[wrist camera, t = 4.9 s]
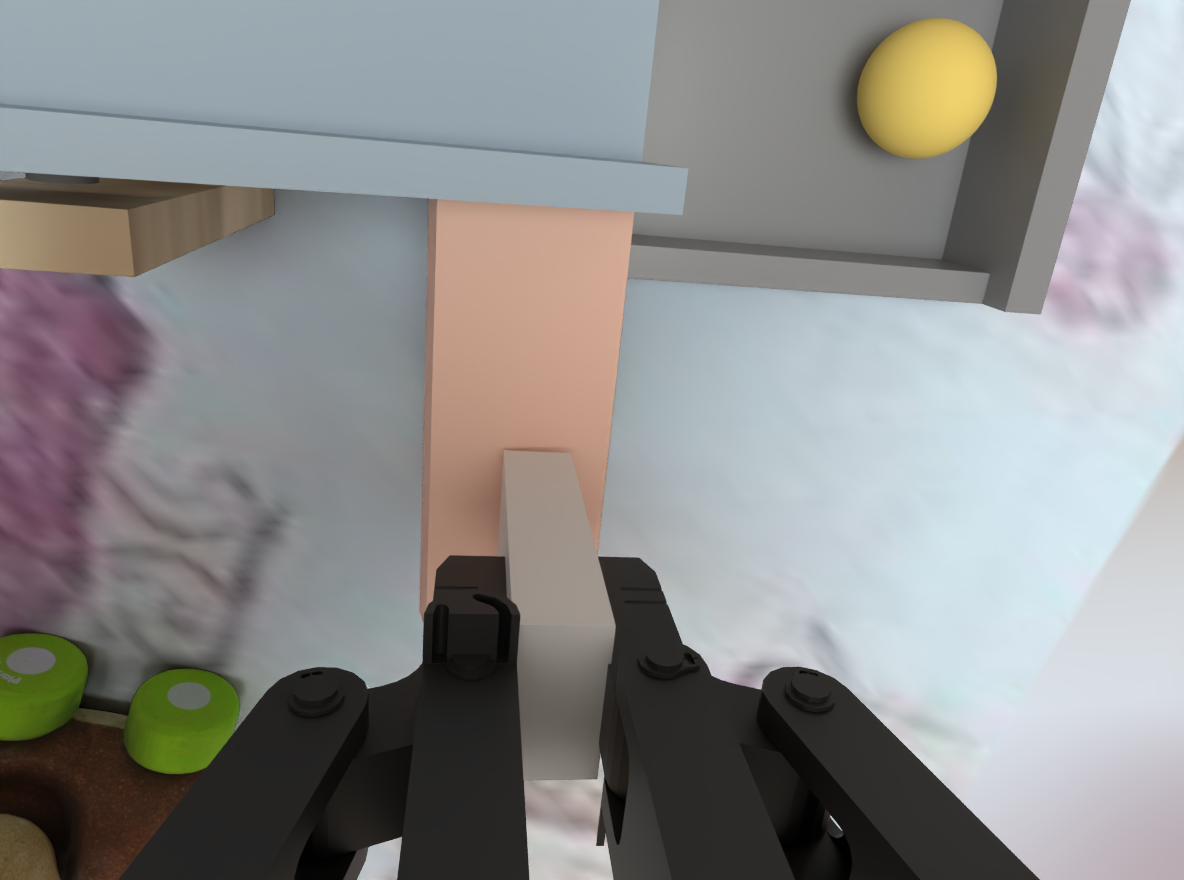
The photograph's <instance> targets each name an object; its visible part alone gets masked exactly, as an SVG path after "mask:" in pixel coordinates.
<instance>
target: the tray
mask: <svg viewBox="0 0 1184 880" xmlns="http://www.w3.org/2000/svg"><path fill="white" fill-rule="evenodd" d="M1130 1H1131V0H659V9H658V18H657V27H656V36H655V46H654V55H653V64H652V73H651V82H650V92H649V101H648V110H647V119H646V128H645V138H644V147H643V156H642V161H643V162H649V163H656V164H663V165H669V166H676V167H683V168H689V169H688V177H687V184H686V192H685V200H684V208H683V215H674V214H658V213H643V212H634V220H633V229H632V239H631V248H630V257H629V266H628V276H627V278H635V279H649V280H662V281H676V282H690V283H704V284H717V285H731V286H745V287H759V288H772V289H786V290H800V291H814V292H827V293H841V294H855V295H869V296H882V297H896V298H910V299H924V300H937V301H951V302H965V303H978V304H984V305H987V306H990V307H993V308H996V309H999V310H1001V311H1004V312H1015V313H1029V314H1041V311H1042V308H1043V304H1044V301H1045V297H1046V294H1047V290H1048V287H1049V283H1050V280H1051V276H1052V273H1053V269H1054V266H1055V262H1056V259H1057V255H1058V252H1059V249H1060V245H1061V242H1062V238H1063V235H1064V231H1065V228H1066V224H1067V221H1068V217H1069V214H1070V210H1071V207H1072V203H1073V200H1074V196H1075V193H1076V189H1077V186H1078V182H1079V179H1080V175H1081V172H1082V168H1083V165H1084V161H1085V158H1086V154H1087V151H1088V147H1089V144H1090V140H1091V137H1092V134H1093V130H1094V127H1095V123H1096V120H1097V116H1098V113H1099V109H1100V106H1101V102H1102V99H1103V95H1104V92H1105V88H1106V85H1107V81H1108V78H1109V74H1110V71H1111V67H1112V64H1113V60H1114V57H1115V53H1116V50H1117V46H1118V43H1119V39H1120V36H1121V32H1122V29H1123V26H1124V22H1125V19H1126V15H1127V12H1128V8H1129V5H1130ZM929 18H945V19H951V20H955V21H959V22H961V23H963V24H966V25H967V26H969V27H971V28H972V29H974V30H975V31H976V32H977V33H978V34H980V35H981V37H982V38H983V39H984V40H985V41H986V43H987V44H988V46H989V48H990V50H991V52H992V54H993V57H994V60H995V64H996V71H997V86H996V92H995V96H994V100H993V103H992V106H991V108H990V110H989V112H988V114H987V116H986V118H985V119H984V121H983V122H982V124H981V125H980V126H979V128H978V129H977V130H976V131H975V132H974V133H973V134H972V135H971V136H970V137H969V138H968V139H967V140H966V141H964V142H963V143H962V144H960V145H959V146H957V147H956V148H954V149H952V150H950V151H948V152H946V153H943V154H941V155H938V156H934V157H930V158H922V159H910V158H904V157H900V156H896V155H893V154H891V153H889V152H887V151H885V150H884V149H882V148H881V147H879V146H878V145H877V144H876V143H875V142H874V141H873V140H872V139H871V138H870V136H869V135H868V134H867V132H866V131H865V129H864V127H863V125H862V122H861V120H860V116H859V112H858V106H857V91H858V84H859V80H860V77H861V74H862V71H863V69H864V67H865V65H866V63H867V61H868V59H869V58H870V56H871V54H872V53H873V52H874V50H875V49H876V48H877V47H878V45H879V44H880V43H881V42H882V41H883V40H885V39H886V38H887V37H888V36H889V35H891V34H892V33H893V32H895V31H896V30H898V29H900V28H901V27H903V26H905V25H908V24H910V23H912V22H916V21H919V20H923V19H929Z"/></svg>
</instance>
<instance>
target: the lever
mask: <svg viewBox="0 0 1184 880" xmlns="http://www.w3.org/2000/svg"><path fill="white" fill-rule="evenodd" d="M658 9H659V0H0V171H10V172H25V174H26V179H27V180H32V181H39V182H49V183H65V184H94V183H99V178H98V177H102V178H118V179H133V180H149V181H164V182H180V183H195V184H211V185H226V186H241V187H257V188H272V189H288V190H303V191H319V192H334V193H350V194H365V195H380V196H396V197H411V198H427V199H429V224H428V267H427V311H426V354H425V397H424V440H423V483H422V526H421V569H420V614H421V617H422V620H423V623H424V612H425V610H426V608H427V606H428V604H429V603H430V602H432V601H433V594H434V586H435V577H436V569H437V568H438V567H439V566H440V565H441V564H442V563H443V562H444V561H445V560H446V559H447V558H448V556H449V555H463V556H497V551H498V535H499V518H500V501H501V485H502V468H503V451H504V450H512V451H536V452H559V453H571V455H572V459H573V463H574V467H575V471H576V475H577V478H578V482H579V486H580V490H581V494H582V498H583V502H584V505H585V509H586V513H587V517H588V521H589V525H590V529H591V532H592V536H593V540H594V544H595V548H596V552H597V554H598V545H599V536H600V526H601V517H602V508H603V498H604V489H605V480H606V471H607V461H608V452H609V443H610V433H611V424H612V415H613V406H614V396H615V387H616V378H617V369H618V359H619V350H620V341H621V331H622V322H623V313H624V304H625V294H626V285H627V276H628V266H629V257H630V248H631V239H632V229H633V220H634V212H643V213H658V214H674V215H683V208H684V200H685V192H686V184H687V177H688V169H689V168H683V167H676V166H669V165H663V164H656V163H649V162H643V161H642V156H643V147H644V138H645V128H646V119H647V110H648V101H649V92H650V82H651V73H652V64H653V55H654V46H655V36H656V27H657V18H658Z"/></svg>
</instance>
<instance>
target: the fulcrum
mask: <svg viewBox="0 0 1184 880" xmlns="http://www.w3.org/2000/svg"><path fill="white" fill-rule="evenodd" d="M98 178H99V183H94V184H65V183H49V182H39V181H32V180H27V179H26V178H19V179H11V180H2V181H0V268H6V269H21V270H36V271H51V272H66V273H81V274H96V275H111V276H126V277H136V276H138V275H140V274H142V273H145V272H147V271H149V270H151V269H154V268H156V267H158V266H160V265H162V264H165V263H167V262H169V261H171V260H174V259H176V258H178V257H180V256H183V255H185V254H187V253H189V252H192V251H194V250H196V249H198V248H201V247H203V246H205V245H207V244H210V243H212V242H214V241H216V240H219V239H221V238H223V237H225V236H228V235H230V234H232V233H234V232H237V231H239V230H241V229H243V228H246V227H248V226H250V225H252V224H255V223H257V222H259V221H261V220H264V219H266V218H268V217H270V216H273V215H275V207H274V189H272V188H257V187H241V186H226V185H211V184H195V183H180V182H164V181H149V180H133V179H118V178H102V177H98Z"/></svg>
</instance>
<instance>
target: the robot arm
mask: <svg viewBox="0 0 1184 880" xmlns="http://www.w3.org/2000/svg"><path fill="white" fill-rule="evenodd" d="M600 753H601V759H602V764H603V770H604V775H605V776H604V784H603V792H602V800H601V808H600V816H599V824H598V832H597V843H596V846H604V840H605V833H606V837H607V842H608V848H609V854H610V860H611V866H612V872H613V878H614V880H1040V879H1038V877H1036V876H1035V874H1033V872H1031V870H1029V869H1028V867H1026V866H1025V865H1024V864H1023V863H1022V862H1021V861H1020V860H1019V859H1018V858H1017V857H1016V856H1015V855H1014V854H1013V853H1012V852H1011V851H1010V850H1009V849H1008V848H1007V847H1006V846H1005V845H1004V844H1003V843H1002V842H1001V841H1000V840H999V839H998V838H997V837H996V836H995V835H994V834H993V833H992V832H991V831H990V830H989V829H988V828H987V827H986V826H985V825H984V824H983V823H982V822H981V821H980V820H979V819H978V818H977V817H976V816H975V815H974V814H973V813H972V812H971V811H970V810H969V809H968V808H967V807H966V806H965V805H964V804H963V803H962V802H961V801H960V800H959V799H958V798H957V797H956V796H955V795H954V794H953V793H952V792H951V791H950V790H949V789H948V788H947V787H946V786H945V785H944V784H943V783H942V782H941V781H940V780H939V779H938V778H937V777H936V776H935V775H934V774H933V773H932V772H931V771H930V770H929V769H928V768H927V767H926V766H925V765H924V764H923V763H922V762H921V761H920V760H919V759H918V758H917V757H916V756H915V755H914V754H913V753H912V752H911V751H910V750H909V749H908V748H907V747H906V746H905V745H904V744H903V743H902V742H901V741H900V740H899V739H898V738H897V737H896V736H895V735H894V734H893V733H892V732H891V731H890V730H889V729H888V728H887V727H886V726H885V725H884V724H883V723H882V722H881V721H880V720H879V719H878V718H877V717H876V716H875V715H874V714H873V713H872V712H871V711H870V710H869V709H868V708H867V707H866V706H865V705H864V704H863V703H862V702H861V701H860V700H859V699H858V698H857V697H856V696H855V695H854V694H853V693H852V692H851V691H850V690H849V689H848V688H847V687H845V686H844V685H843V684H841V683H840V682H839V681H837V680H836V679H835V678H833V677H831V676H828V675H826V674H824V673H821V672H819V671H817V670H813V669H807V668H802V667H783V668H780V669H777V670H774V671H771V672H770V673H769V674H768V675H767V676H766V677H765V679H764V680H763V684H762V689H761V690H760V689H755V688H750V687H746V686H741V685H737V684H733V683H729V682H726V681H722V680H720V679H717V678H715V677H713V676H711V673H710V671H709V669H708V666H707V664H706V663H705V661H704V660H703V659H702V657H701V656H700V654H698V653H697V652H695V651H694V650H692V649H691V648H689V647H688V646H686V645H683V644H682V641H681V638H680V636H679V633H678V630H677V628H676V625H675V623H674V620H673V617H672V615H671V612H670V609H669V607H668V605H666V599H665V596H664V594H663V591H661V586H660V583H659V580H658V578H657V575H656V572H655V571H654V570H652V569H651V568H650V567H649V566H648V565H647V564H646V563H644V562H643V561H642V560H641V559H640V558H629V557H598V555H597V552H596V548H595V544H594V540H593V536H592V532H591V529H590V525H589V521H588V517H587V513H586V509H585V505H584V502H583V498H582V494H581V490H580V486H579V482H578V478H577V475H576V471H575V467H574V463H573V459H572V455H571V453H559V452H536V451H512V450H504V451H503V468H502V485H501V501H500V518H499V535H498V551H497V556H463V555H449V556H448V558H447V559H446V560H445V561H444V562H443V563H442V564H441V565H440V566H439V567H438V568H437V569H436V577H435V586H434V594H433V601H432V602H430V603H429V604H428V606H427V608H426V610H425V612H424V632H423V663H422V664H421V665H420V667H419V668H418V669H417V670H416V671H414V672H413V673H412V674H410V675H409V676H407V677H405V678H403V679H401V680H399V681H397V682H394V683H391V684H387V685H384V686H380V687H375V688H371V689H367V687H366V685H365V682H364V681H363V680H362V679H360V678H359V677H358V676H357V675H355V674H354V673H352V672H349V671H346V670H342V669H339V668H326V667H316V668H311V669H306V670H301V671H297V672H295V673H293V674H291V675H288V676H286V677H284V678H282V679H280V680H279V681H278V682H276V683H275V684H274V685H273V686H272V687H271V688H270V689H268V690H267V692H266V693H265V694H264V695H263V697H262V698H261V699H260V700H259V702H258V703H257V704H256V706H255V707H254V708H253V709H252V711H251V712H250V713H249V714H248V716H247V717H246V718H245V719H244V721H243V722H242V723H241V725H240V726H239V727H238V728H237V730H236V731H235V732H234V733H233V735H232V736H231V737H230V739H229V740H228V741H227V742H226V744H225V745H224V746H223V747H222V749H221V750H220V751H219V752H218V754H217V755H216V756H215V758H214V759H213V760H212V761H211V763H210V764H209V765H208V766H207V768H206V769H205V770H204V772H203V773H202V774H201V775H200V777H199V778H198V779H197V780H196V782H195V783H194V784H193V785H192V787H191V788H190V789H189V791H188V792H187V793H186V794H185V796H184V797H183V798H182V799H181V801H180V802H179V803H178V805H177V806H176V807H175V808H174V810H173V811H172V812H171V813H170V815H169V816H168V817H167V818H166V820H165V821H164V822H163V824H162V825H161V826H160V827H159V829H158V830H157V831H156V832H155V834H154V835H153V836H152V838H151V839H150V840H149V841H148V843H147V844H146V845H145V846H144V848H143V849H142V850H141V852H140V853H139V854H138V855H137V857H136V858H135V859H134V860H133V862H132V863H131V864H130V865H129V867H128V868H127V869H126V871H125V872H124V873H123V874H122V876H121V877H120V878H119V879H118V880H357V878H358V876H359V874H360V871H361V869H362V867H363V865H364V863H365V861H366V856H367V852H368V847H369V846H373V845H376V844H379V843H383V842H386V841H389V840H393V839H396V838H399V837H402V844H401V852H400V861H399V869H398V878H397V880H529V866H528V848H527V831H526V814H525V796H524V780H578V779H597V777H598V769H599V761H600ZM830 815H831V816H832V817H833V819H834V820H835V821H836V822H837V824H838V825H839V826H840V828H841V829H842V831H841V830H840V829H839V828H838V827H837V825H836V824H835V823H834V822H833V820H832V819H831V818H830Z"/></svg>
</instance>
